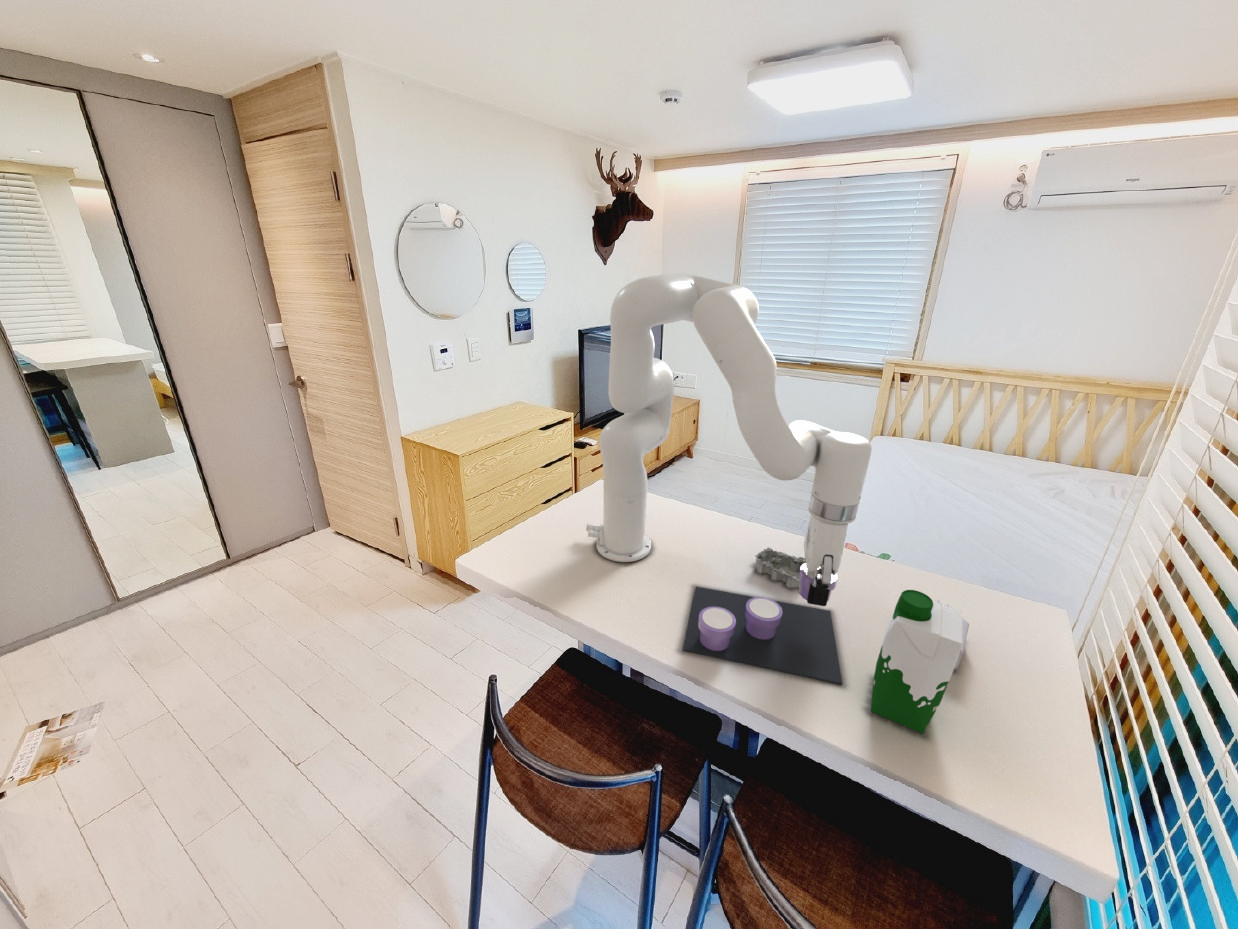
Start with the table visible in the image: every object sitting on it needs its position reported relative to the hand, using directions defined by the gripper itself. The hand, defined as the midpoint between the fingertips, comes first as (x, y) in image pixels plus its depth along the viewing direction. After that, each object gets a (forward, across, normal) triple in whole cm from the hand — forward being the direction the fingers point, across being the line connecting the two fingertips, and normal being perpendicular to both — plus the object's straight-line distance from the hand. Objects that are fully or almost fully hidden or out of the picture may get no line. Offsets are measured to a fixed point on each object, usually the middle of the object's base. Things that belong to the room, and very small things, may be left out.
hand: (814, 590), depth 92 cm
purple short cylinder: (+7, +10, -17) cm, 21 cm away
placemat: (+7, +5, -9) cm, 12 cm away
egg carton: (+7, -14, -5) cm, 17 cm away
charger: (+8, -3, +22) cm, 23 cm away
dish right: (+1, 0, 0) cm, 1 cm away
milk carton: (+8, +16, +12) cm, 21 cm away
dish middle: (+7, +5, -9) cm, 12 cm away
